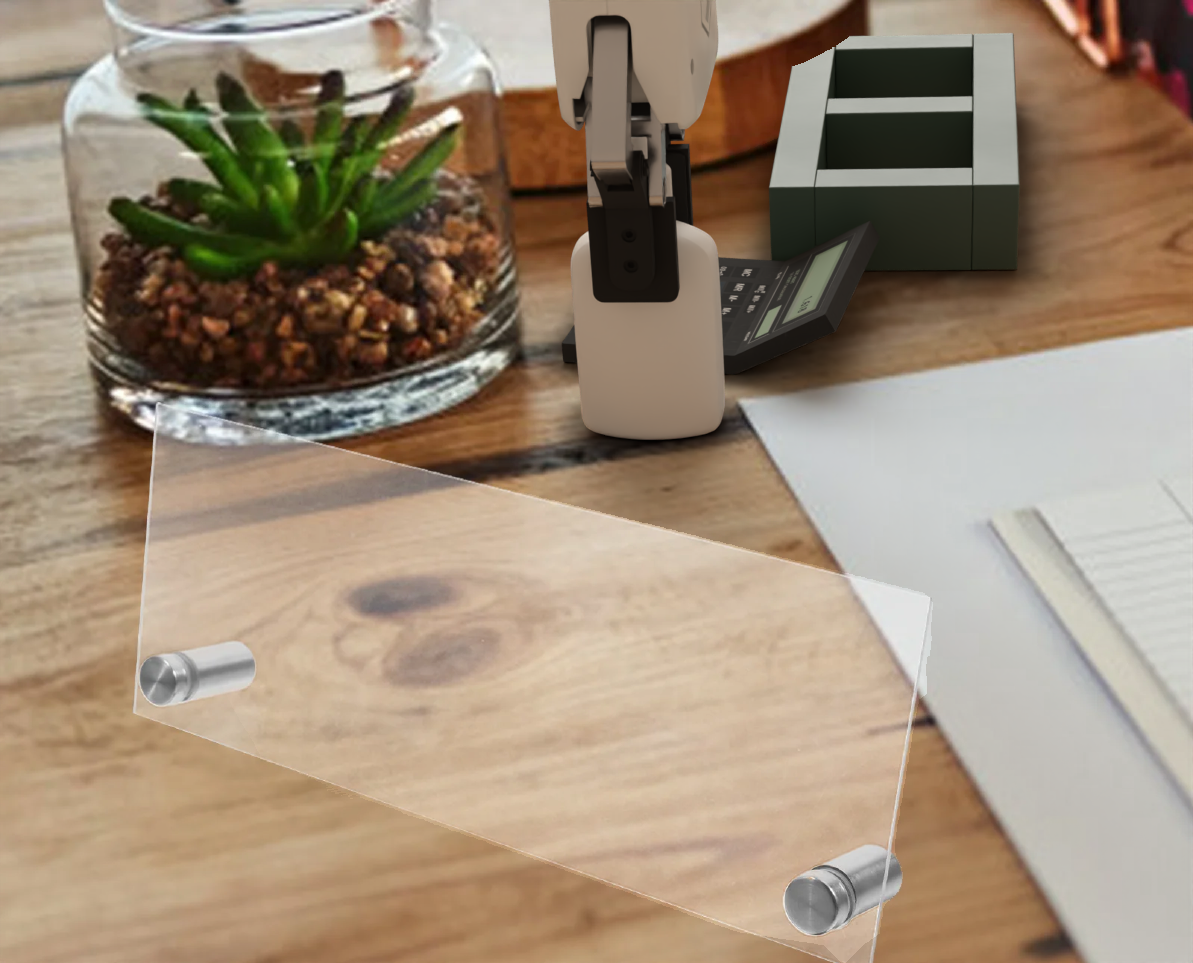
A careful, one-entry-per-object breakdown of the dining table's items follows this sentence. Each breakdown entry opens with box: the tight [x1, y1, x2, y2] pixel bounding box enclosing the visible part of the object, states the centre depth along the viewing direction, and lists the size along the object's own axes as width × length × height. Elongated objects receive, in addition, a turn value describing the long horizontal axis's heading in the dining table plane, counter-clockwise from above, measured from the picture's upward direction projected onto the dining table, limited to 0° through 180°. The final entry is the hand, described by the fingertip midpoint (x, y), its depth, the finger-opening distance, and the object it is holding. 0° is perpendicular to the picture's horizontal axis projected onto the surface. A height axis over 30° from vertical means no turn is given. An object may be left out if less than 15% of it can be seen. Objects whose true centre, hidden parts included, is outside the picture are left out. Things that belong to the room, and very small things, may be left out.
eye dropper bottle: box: [570, 137, 726, 441], centre depth 90 cm, size 4×6×12 cm
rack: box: [768, 32, 1021, 272], centre depth 110 cm, size 11×20×4 cm, turn 172°
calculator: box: [561, 221, 880, 375], centre depth 99 cm, size 9×12×3 cm
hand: (644, 266), depth 89 cm, fingers open, 4 cm apart
